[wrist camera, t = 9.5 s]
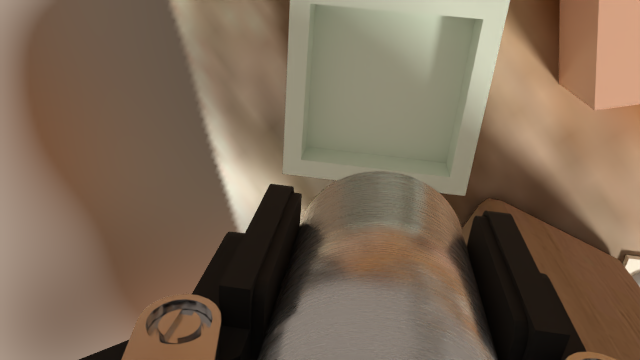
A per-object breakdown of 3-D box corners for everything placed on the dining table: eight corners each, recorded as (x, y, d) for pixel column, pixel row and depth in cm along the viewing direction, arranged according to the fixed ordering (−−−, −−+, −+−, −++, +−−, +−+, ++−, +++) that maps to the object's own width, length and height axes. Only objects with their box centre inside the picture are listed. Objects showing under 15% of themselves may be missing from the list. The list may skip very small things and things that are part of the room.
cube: (559, -16, 24) (599, -9, 19) (671, -36, 23) (740, -34, 18) (558, 83, 26) (594, 110, 21) (661, 68, 25) (722, 92, 20)
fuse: (303, 160, 11) (215, 381, 5) (479, 182, 11) (586, 440, 5) (294, 298, 13) (219, 578, 7) (445, 320, 12) (497, 631, 7)
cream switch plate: (626, 254, 29) (630, 260, 29) (677, 261, 29) (682, 267, 29) (594, 329, 32) (598, 335, 32) (641, 336, 32) (646, 342, 31)
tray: (299, -23, 25) (290, -21, 23) (498, -6, 24) (510, -2, 22) (290, 156, 30) (282, 173, 27) (458, 176, 29) (465, 196, 26)
